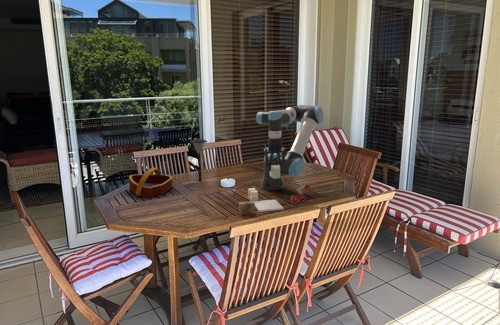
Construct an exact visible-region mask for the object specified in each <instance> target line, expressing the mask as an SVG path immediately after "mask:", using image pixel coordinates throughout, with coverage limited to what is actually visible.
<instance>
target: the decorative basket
mask: <svg viewBox="0 0 500 325" xmlns="http://www.w3.org/2000/svg"><path fill="white" fill-rule="evenodd" d="M154 172H155V174H153V173H154ZM173 179H174V178H173V176H171V175H169V174H161V169H159V168H158V167H151V168H149V169H148V170H147V171H146V172H145V173H143V174H142V173H141V174H130V175H128V185H129V186H128V187H129V189H130V190H131V191H132V193H134V194H135V196H138V197H141V196H142V197H144V198H152V197H158V196H162V195H163V194H165V193H166V192H168V191H169V190H172V188H173Z"/></svg>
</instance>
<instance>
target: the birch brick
mask: <svg viewBox="0 0 500 325" xmlns="http://www.w3.org/2000/svg"><path fill="white" fill-rule="evenodd" d="M247 198H248V200H249V201H253V202H254V201H259V191H258V190H257V189H256V188H255V187H252V188H250V187H249V188H247Z"/></svg>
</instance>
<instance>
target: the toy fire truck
mask: <svg viewBox="0 0 500 325" xmlns="http://www.w3.org/2000/svg"><path fill="white" fill-rule="evenodd" d="M303 189H305V190H310V189H311V185H309V184H306V183H304V184H302V186H300V187H299V188H297V189H296V192H297V193H298V194H297V195H291V196H290V200H289V202H290V203H291V204H293V205H294V204H295V205H297V204H298V203H304V202H305V201H306V200H307V199H306V196H305V195H304V194H303V191H302V190H303Z"/></svg>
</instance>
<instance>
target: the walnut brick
mask: <svg viewBox="0 0 500 325" xmlns="http://www.w3.org/2000/svg"><path fill="white" fill-rule="evenodd" d="M255 209H256V207H255V203H254V202H253V201H250V200H247V201H246V200H245V201H239V202H238V213H239V215H240V216H242V215H244V216H245V215H253V214H255V213H256V210H255Z"/></svg>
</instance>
